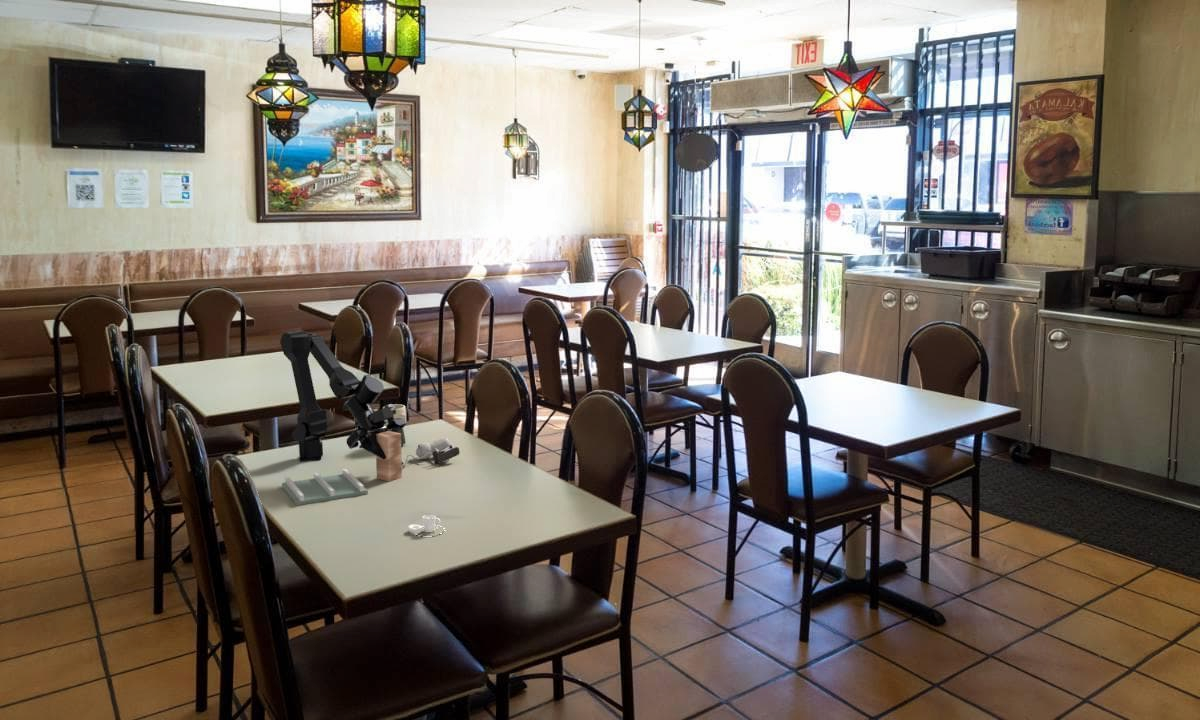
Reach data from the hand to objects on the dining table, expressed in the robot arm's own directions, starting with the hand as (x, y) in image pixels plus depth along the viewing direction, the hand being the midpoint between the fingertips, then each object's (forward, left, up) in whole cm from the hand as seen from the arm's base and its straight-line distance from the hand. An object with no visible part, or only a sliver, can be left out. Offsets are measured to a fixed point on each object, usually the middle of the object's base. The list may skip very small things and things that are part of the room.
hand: (392, 456), depth 271 cm
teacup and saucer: (+6, -42, -7) cm, 43 cm away
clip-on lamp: (+10, +15, -7) cm, 19 cm away
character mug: (+2, +35, -7) cm, 36 cm away
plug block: (-1, +1, -7) cm, 7 cm away
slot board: (-19, -6, -7) cm, 21 cm away
